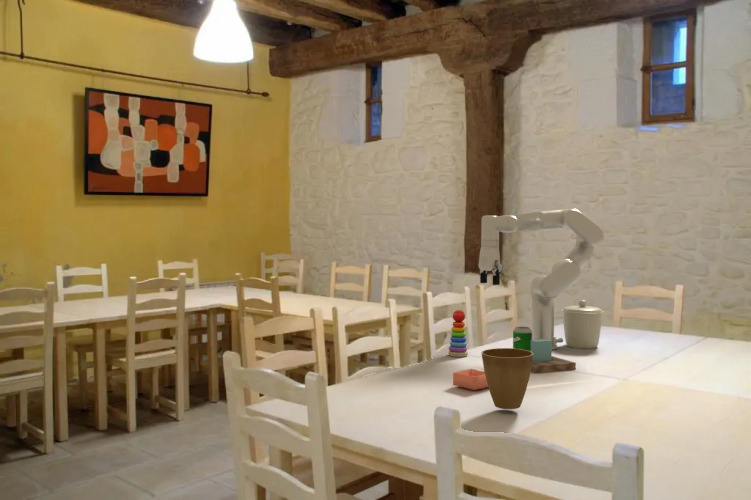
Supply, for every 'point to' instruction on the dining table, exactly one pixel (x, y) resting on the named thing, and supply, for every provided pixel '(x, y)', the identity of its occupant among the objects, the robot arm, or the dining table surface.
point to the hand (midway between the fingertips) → (489, 283)
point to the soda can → (522, 338)
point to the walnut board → (552, 365)
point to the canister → (582, 325)
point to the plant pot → (507, 375)
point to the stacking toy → (458, 336)
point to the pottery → (470, 379)
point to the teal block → (541, 350)
